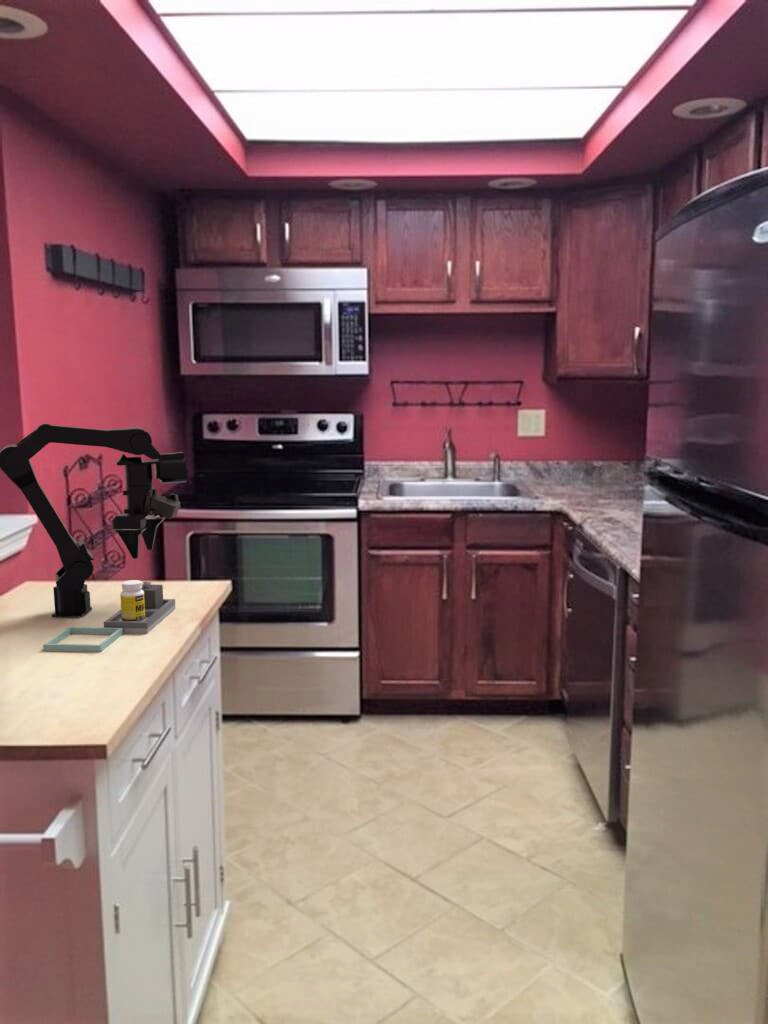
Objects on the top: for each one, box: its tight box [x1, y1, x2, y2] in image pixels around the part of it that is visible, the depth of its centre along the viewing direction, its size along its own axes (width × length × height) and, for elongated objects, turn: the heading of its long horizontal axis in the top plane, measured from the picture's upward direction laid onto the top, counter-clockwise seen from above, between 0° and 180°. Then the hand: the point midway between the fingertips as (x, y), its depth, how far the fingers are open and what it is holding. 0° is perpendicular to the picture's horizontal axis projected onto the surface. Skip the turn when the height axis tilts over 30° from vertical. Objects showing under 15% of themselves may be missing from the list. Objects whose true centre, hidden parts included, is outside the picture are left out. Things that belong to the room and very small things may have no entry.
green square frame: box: [42, 626, 124, 653], centre depth 164 cm, size 11×11×1 cm
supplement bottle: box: [120, 579, 145, 621], centre depth 174 cm, size 5×5×8 cm
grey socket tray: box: [103, 598, 177, 634], centre depth 179 cm, size 9×18×2 cm, turn 176°
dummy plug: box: [141, 580, 164, 609], centre depth 183 cm, size 5×5×6 cm
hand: (142, 553), depth 188 cm, fingers open, 9 cm apart
